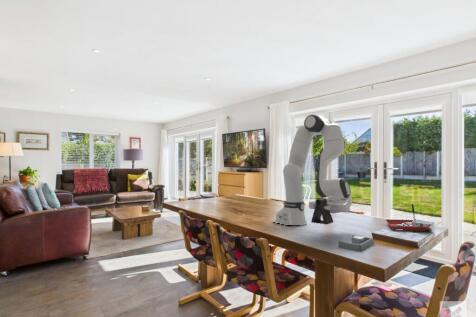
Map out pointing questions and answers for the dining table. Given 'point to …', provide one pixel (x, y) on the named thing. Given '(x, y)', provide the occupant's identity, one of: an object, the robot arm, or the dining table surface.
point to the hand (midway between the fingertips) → (320, 208)
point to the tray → (357, 247)
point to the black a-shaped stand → (321, 212)
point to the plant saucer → (394, 226)
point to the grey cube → (358, 240)
